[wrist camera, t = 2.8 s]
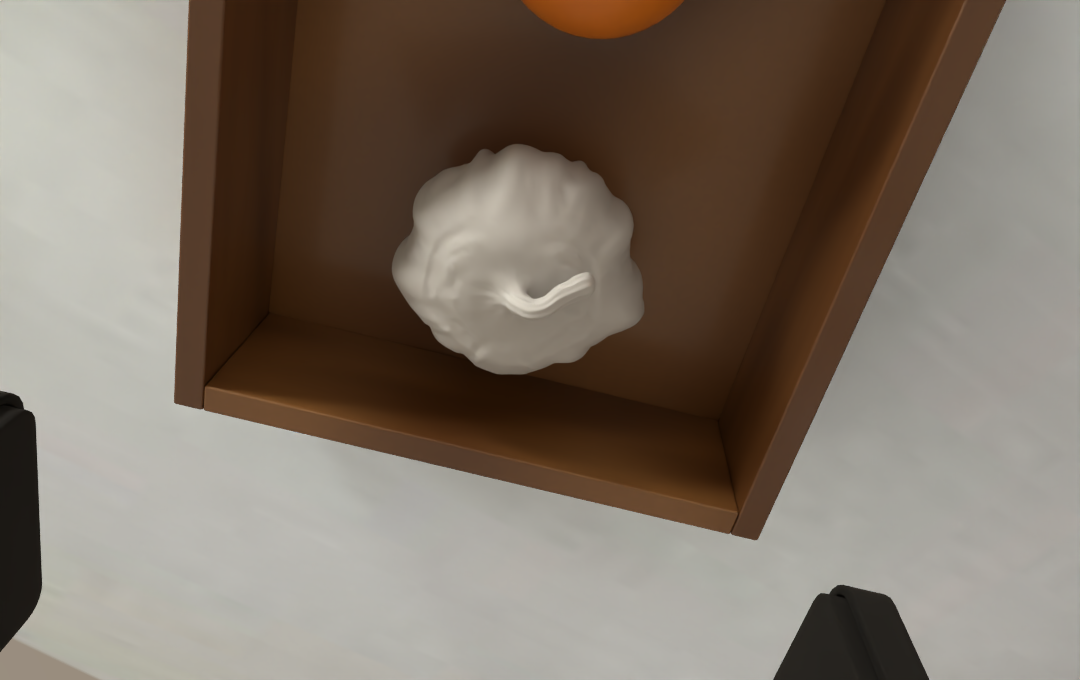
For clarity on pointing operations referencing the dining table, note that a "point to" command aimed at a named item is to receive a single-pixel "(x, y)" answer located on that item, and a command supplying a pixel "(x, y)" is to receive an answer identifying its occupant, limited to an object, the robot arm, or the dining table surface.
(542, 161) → the garlic
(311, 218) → the wooden tray
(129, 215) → the dining table surface
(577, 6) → the mandarin
